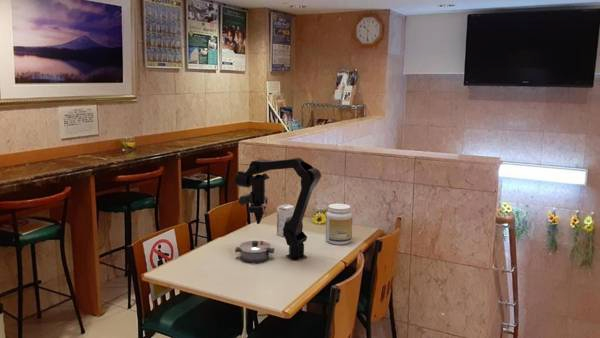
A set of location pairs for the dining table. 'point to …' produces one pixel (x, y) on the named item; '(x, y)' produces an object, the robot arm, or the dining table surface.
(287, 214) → the syrup box
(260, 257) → the cooker pot
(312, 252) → the dining table surface
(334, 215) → the supplement tub
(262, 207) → the robot arm
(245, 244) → the cooker lid
